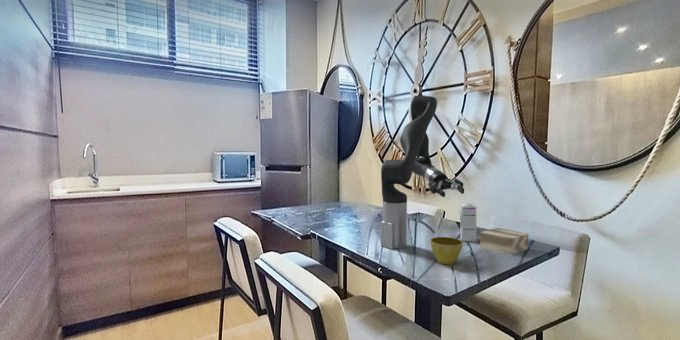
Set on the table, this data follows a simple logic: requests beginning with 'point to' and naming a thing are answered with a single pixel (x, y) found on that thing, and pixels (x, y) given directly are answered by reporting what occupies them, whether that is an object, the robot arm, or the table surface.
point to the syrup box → (468, 222)
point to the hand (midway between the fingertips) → (453, 193)
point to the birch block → (504, 240)
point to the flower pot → (446, 249)
